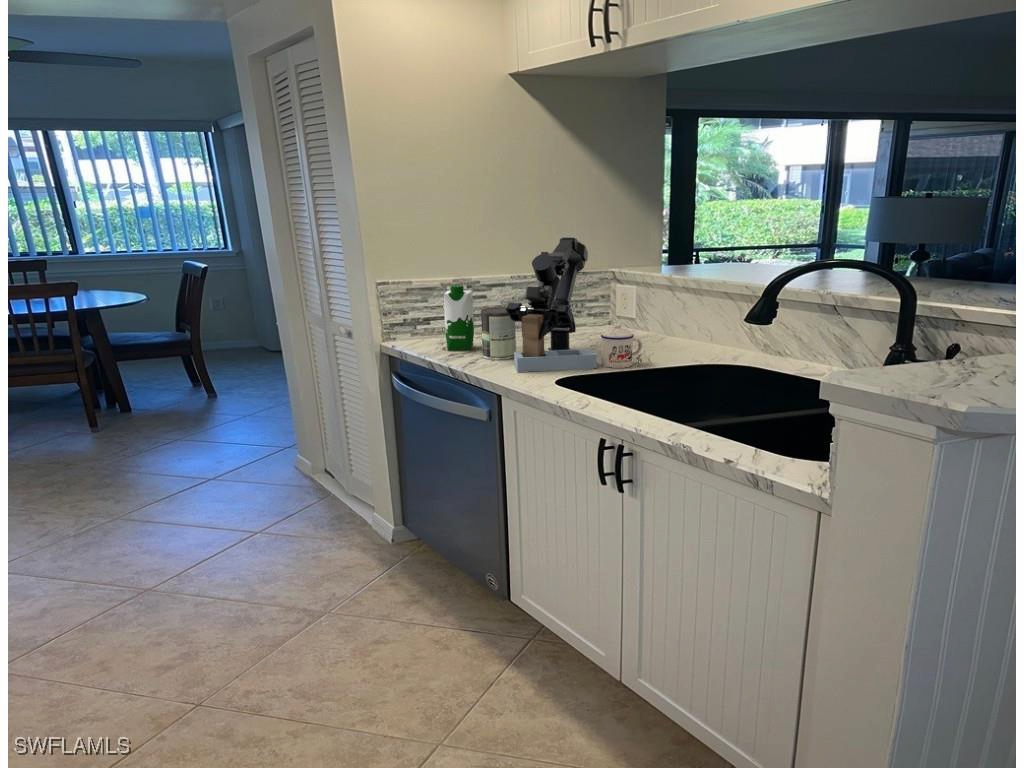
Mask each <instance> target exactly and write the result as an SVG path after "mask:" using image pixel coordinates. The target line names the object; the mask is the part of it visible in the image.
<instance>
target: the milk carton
mask: <svg viewBox="0 0 1024 768" xmlns="http://www.w3.org/2000/svg"><path fill="white" fill-rule="evenodd" d="M449 288H450V290H448V291H445V293H444V294H443V298H444V299H443V302H444V304H443V305H444V306H443V308H444V333H445V340H446V349H447V351H448V350H459V351H460V350H470V351H471V350H472V348H473V347H474V339H475V338H474V336H475V335H474V334H475V322H474V321H475V320H474V319H475V318H474V298H473V290H464V285H461V284H460V285H450V287H449ZM472 346H473V347H472ZM459 351H458V352H459Z"/></svg>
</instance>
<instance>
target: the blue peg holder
mask: <svg viewBox="0 0 1024 768" xmlns="http://www.w3.org/2000/svg"><path fill="white" fill-rule="evenodd" d="M597 360H598V359H597V354H596V352H595V351H594V350H592V349H591V348H578V349H577V348H576V349H571V350H551V351H549V350H544V356H543V357H523V351H516V352H514V358H513V364H514V369H515V370H516V372H517V373H524V372H523V371H539V372H546V371H545V370H560V371H577V369H578V370H579V369H581V370H593V369H592V368H597V365H598V364H597V363H598V361H597Z"/></svg>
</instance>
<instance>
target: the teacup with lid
mask: <svg viewBox="0 0 1024 768" xmlns="http://www.w3.org/2000/svg"><path fill="white" fill-rule="evenodd" d="M600 337H601V366H602V367H604V366H606V367H605V368H608V367H612V368H611V369H625V367H627V368H629V366H630V367H631V365H632V366H633V357H634V356H636V355H639V353H641V351H642V349H643V343H642V340H641V339H639V338H637V337H635V335H634V333H633V332H632V331H630V330H627V329H626V328H624V327H622V324H620V323H615V324H613V327H611V328H609V329H608V330H605V331H602V332H601V334H600ZM634 342H638V347H637V350H636V351H635V352H634V351H633V350H634V349H633V347H634Z"/></svg>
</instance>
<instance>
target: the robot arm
mask: <svg viewBox="0 0 1024 768" xmlns="http://www.w3.org/2000/svg"><path fill="white" fill-rule="evenodd" d="M588 259H589V251H588V249H587V247H586V245H585V244H583V243H582V242H580V241H578V238H575V237H570V236H569V237H562V238H559V242H558V244H557V245H556V247H555V248H554V250H553V251H552V252H549V251H541V252H540V254H539V255H537V256H535V257H534V258H533V260H532V261H531V266H532V269H533V271H534V276H535V278H536V280H537V281H538V286H526V287H525V294H524V299H526V300H528V302H527V303H528V305H529V306H530V307H527V306H525V305H523V304H522V302H513V301H511V302H510V301H509V302H508V303H507V305H506V306H505V307H506V311H507V313H508V314H509V316H510V318H511V320H513V321H515V322H520V323H521V324H522V317H523V316H526V315H528V314H533V315H544V322H543V324H542V327H541V330H540V333H539V337H538V338H539V340H541V339H542V338H543V337H544V338H545V336H546V335H547V334H549V333H550V347H548V348H547V351H551V350H572V349H571V348H570V334H573V333H576V332H577V331H576V329H577V328H576V327H577V326H576V321H575V317H574V314H573V310H572V309H571V308H572V307H571V305H570V304H571V301H572V296H573V292H574V289H575V288H574V287H575V284H576V280H577V275H578V273H579V272H581V271H582V270H583V269H584V268H585V265H586V262H587V261H588ZM521 337H522V338H523V335H522V334H521Z"/></svg>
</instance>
